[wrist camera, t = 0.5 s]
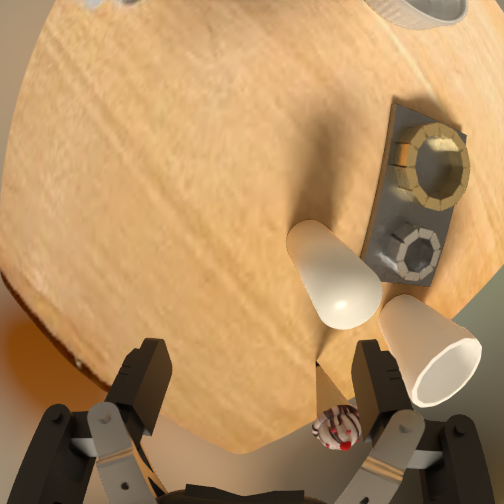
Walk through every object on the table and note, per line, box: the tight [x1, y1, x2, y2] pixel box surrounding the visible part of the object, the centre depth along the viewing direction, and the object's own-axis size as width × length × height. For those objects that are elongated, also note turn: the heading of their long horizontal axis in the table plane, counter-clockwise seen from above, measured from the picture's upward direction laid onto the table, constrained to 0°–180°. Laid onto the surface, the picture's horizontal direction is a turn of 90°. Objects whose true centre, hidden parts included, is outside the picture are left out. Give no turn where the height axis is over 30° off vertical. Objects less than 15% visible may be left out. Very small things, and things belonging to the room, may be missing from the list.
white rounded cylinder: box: [286, 220, 382, 329], centre depth 26 cm, size 5×5×13 cm
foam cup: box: [378, 294, 482, 407], centre depth 30 cm, size 10×9×13 cm
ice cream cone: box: [312, 361, 361, 451], centre depth 31 cm, size 6×6×15 cm
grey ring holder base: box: [360, 104, 470, 287], centre depth 30 cm, size 20×11×4 cm, turn 171°
